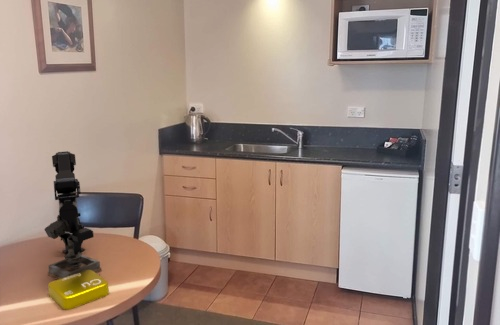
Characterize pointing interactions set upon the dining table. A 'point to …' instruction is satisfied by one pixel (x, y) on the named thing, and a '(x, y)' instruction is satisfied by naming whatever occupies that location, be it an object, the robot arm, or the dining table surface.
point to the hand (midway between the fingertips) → (73, 253)
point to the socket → (61, 271)
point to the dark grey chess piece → (72, 256)
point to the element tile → (78, 289)
